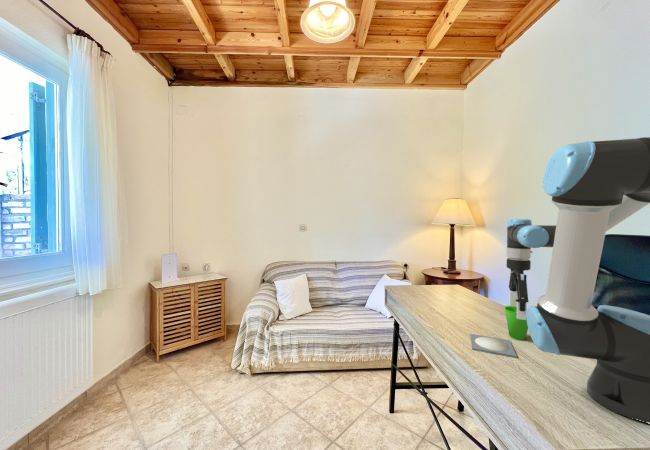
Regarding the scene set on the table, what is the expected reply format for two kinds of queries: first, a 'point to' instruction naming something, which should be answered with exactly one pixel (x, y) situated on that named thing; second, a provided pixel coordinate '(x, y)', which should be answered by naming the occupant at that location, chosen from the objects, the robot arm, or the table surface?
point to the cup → (515, 323)
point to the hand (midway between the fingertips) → (517, 312)
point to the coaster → (492, 345)
